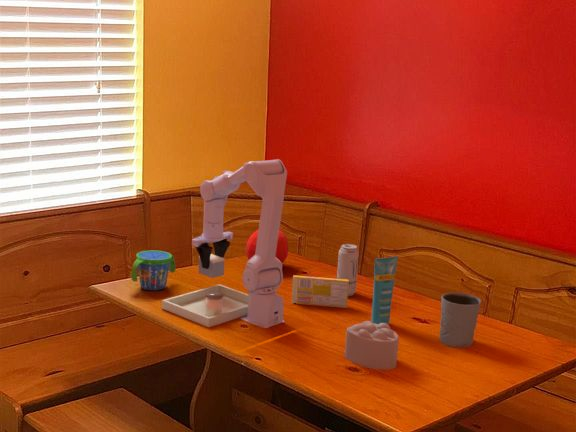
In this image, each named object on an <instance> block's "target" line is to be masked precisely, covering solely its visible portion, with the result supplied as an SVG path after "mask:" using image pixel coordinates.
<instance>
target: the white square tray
mask: <svg viewBox="0 0 576 432" xmlns="http://www.w3.org/2000/svg"><path fill="white" fill-rule="evenodd" d="M209 291H219V292H222V293H223V305H222V313H221V314H218V315H214V316H211V317H207V316H205V312H206V292H209ZM248 295H249V293H245V292H242V291H240V290H237V289H233V288H232V287H228V286H225V285H223V284H215V285H212V286H209V287H208V286H207V287H204V288H201V289H198V290H195V291H190V292H186V293H183V294H180V295H176V296H172V297H168V298H166V299H162V300H161V309H162V310H164V311H166V312H169V313H172V314H174V315H177V316H179V317H182V318H184V319H187V320H189V321H192V322H193V323H196V324H199V325H201V326H204V327H206V328H212V327H214V326H218V325H221V324H224V323H227V322H230V321H233V320H236V319H238V318H239V319H240V318H243V317H246V316H247V315H248Z"/></svg>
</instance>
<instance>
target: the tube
mask: <svg viewBox="0 0 576 432" xmlns="http://www.w3.org/2000/svg"><path fill="white" fill-rule="evenodd" d="M398 257H399V255H396V256H388V257H380V258H378V257H377V258H374V271H373V272H374V273H373V274H374V277H373V290H372V292H373V293H372V305H371V306H372V307H371V320H370V322H372V323H375V324H380V323H386V324H388V325H389V324H390V319H391V317H390V316H391V308H392V301H393V295H394V287H395V278H396V272H397V265H398V259H399V258H398ZM389 326H390V325H389Z"/></svg>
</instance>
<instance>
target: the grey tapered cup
mask: <svg viewBox="0 0 576 432" xmlns="http://www.w3.org/2000/svg"><path fill="white" fill-rule="evenodd" d="M440 303H441V305H440V306H441V307H440V313H441V316H440V327H439V328H440V329H439V342H440V343H442V344H443V343H444V345H445V344H446V345H445V346H448V345H449V346H448V347H451V346H453V347H452V348H458V347H463V348H469V347H471V346H472V345H473V340H474V336H475V331H476V326H477V321H478V318H479V313H480V309H481V304H482V300H481V299H480V298H479V297H477V296H475V295H471V294H469V293H462V292H447V293H444V294H442V295H441V301H440ZM468 346H469V347H468ZM463 348H462V349H463Z"/></svg>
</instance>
